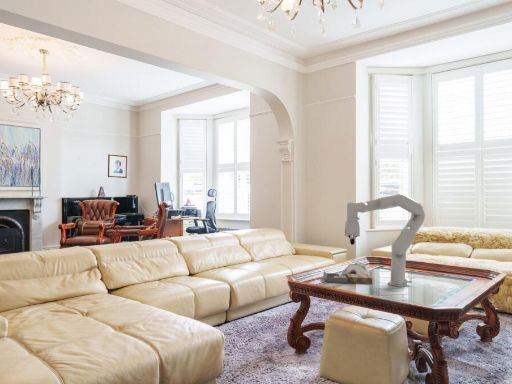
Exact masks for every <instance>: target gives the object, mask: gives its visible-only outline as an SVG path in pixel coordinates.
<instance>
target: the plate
mask: <svg viewBox="0 0 512 384" xmlns="http://www.w3.org/2000/svg"><path fill="white" fill-rule="evenodd" d="M345 277H346V278H348V284H366V285H373V277H372V276H370V274H369V275H366V274H356V273H348V274H346V275H345Z"/></svg>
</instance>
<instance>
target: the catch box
mask: <svg viewBox="0 0 512 384" xmlns="http://www.w3.org/2000/svg"><path fill="white" fill-rule="evenodd" d="M338 274H339V273H335V272H334V273H333V272H326V270H325V271H324V270H323V279H324V281H325V282H326V283H338V284H349V282H348V278H346V275H344V274H343V273H341V274H342V275H343V276H344V277H345V278H338V277H334V276H339V275H338Z"/></svg>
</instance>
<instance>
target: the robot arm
mask: <svg viewBox="0 0 512 384" xmlns="http://www.w3.org/2000/svg"><path fill="white" fill-rule="evenodd" d="M397 207H400V208H401V209H404V210H405V211H407V212H409V213H410V214H411V216H410V218H409V219H408V222H406V225H405V226H403V228H402V229H401V231H400V233H399V235H398V237H397V238H396V239H395V240H393V241H392V243H391V256H390V257H391V260H390V262H391V263H390V280H389V281H387V284H388V285H390V286H393V287H404V288H405V287H407V286H408V283H410V284H413V280H412V279H406V262H407V261H406V259H407V251H408V250H409V248H410V247H411V246H412V244H413V243H414V241H415V239H416V237H417V233H418V231H419V230H420V228H421V227H422V225H423V223H424V221H425V218H426V217H425V216H426V215H425V210H424V207H423V205H422V204H421V203H420V202H418V201H416V200H414V199H412V198H410V197H409V196H407V195H405V194H403V193H398V194H392V195H389V196H382V197H378V198H376V199H373V200H369V201H368V200H367V201H362V202H354V201H353V202H348V203H346V221H345V224H344V236H345V237H346V238H349V243H350V245H355V243H356V242H355V241H356V238H358V237H360V236H361V230H360V223H359V220H360V217H359V216H358V215H359V214H358V213H363V214H364V213H368V212H372V211H377V210H388V209H392V208H397Z"/></svg>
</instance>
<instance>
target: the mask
mask: <svg viewBox="0 0 512 384" xmlns="http://www.w3.org/2000/svg"><path fill="white" fill-rule="evenodd" d="M353 271H354V272H355V273H354V274H366V275H369V276H370V272H369V270H368V269H367V266H366V263H365V262H360V260H357V261H355V263H349V264H348V265H347V266H346V267H345V268H344V270H343V271H342V273H341V274H344V276H346V274H351V272H353Z"/></svg>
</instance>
